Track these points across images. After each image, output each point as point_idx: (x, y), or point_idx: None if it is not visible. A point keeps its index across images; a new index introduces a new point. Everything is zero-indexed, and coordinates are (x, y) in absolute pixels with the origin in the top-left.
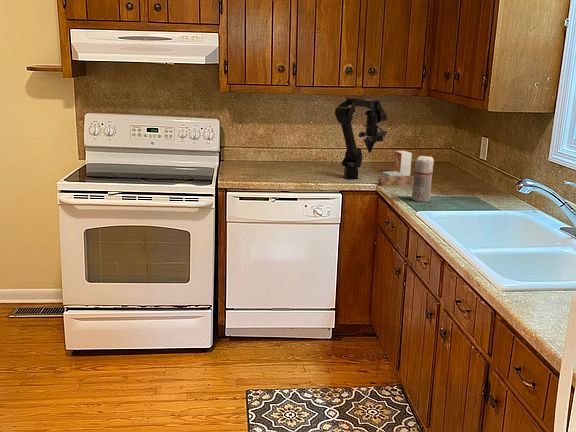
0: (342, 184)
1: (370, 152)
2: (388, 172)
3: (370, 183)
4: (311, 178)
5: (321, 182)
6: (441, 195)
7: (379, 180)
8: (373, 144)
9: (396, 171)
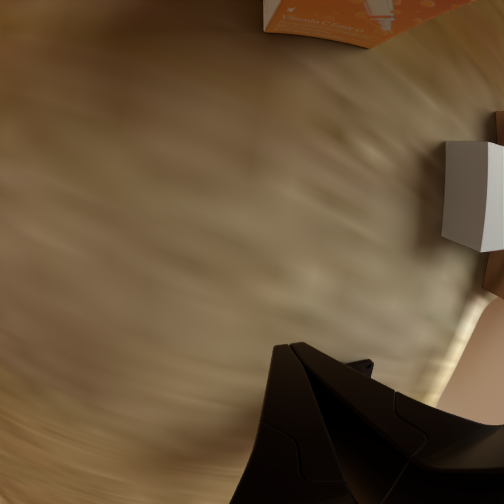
0: None
1: (302, 348)
2: (500, 221)
3: (458, 319)
4: None
5: None
6: None
7: (498, 294)
8: (451, 427)
9: (492, 145)
